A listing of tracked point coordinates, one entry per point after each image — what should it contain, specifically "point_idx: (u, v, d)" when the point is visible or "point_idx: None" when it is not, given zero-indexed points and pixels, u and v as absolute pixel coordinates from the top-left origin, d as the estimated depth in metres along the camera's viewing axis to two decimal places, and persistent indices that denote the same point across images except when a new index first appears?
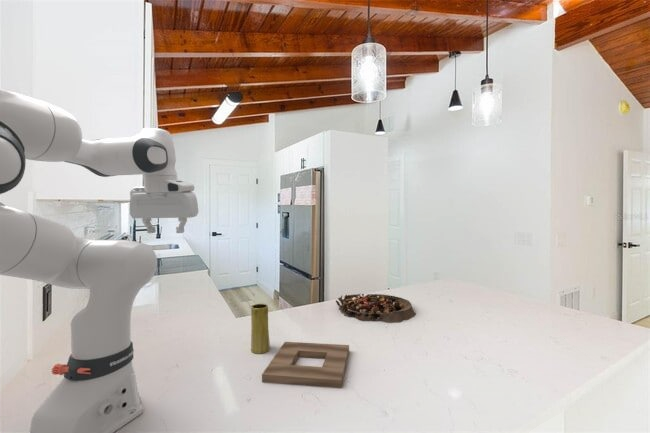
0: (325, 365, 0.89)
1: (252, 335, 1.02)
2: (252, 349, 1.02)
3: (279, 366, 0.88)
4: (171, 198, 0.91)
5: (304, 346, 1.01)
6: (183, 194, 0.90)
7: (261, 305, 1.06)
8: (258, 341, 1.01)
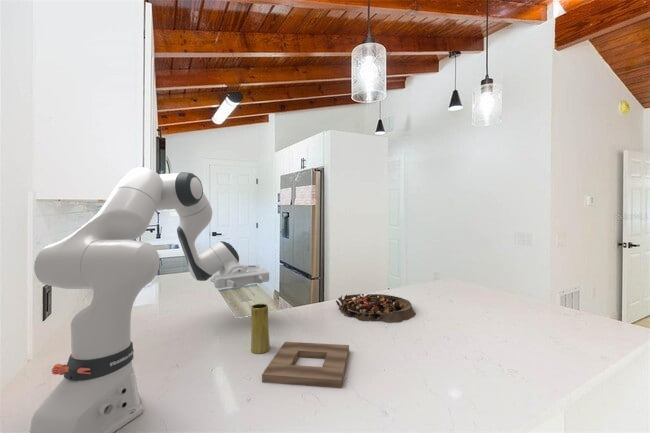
0: (325, 365, 0.89)
1: (252, 335, 1.02)
2: (252, 349, 1.02)
3: (279, 366, 0.88)
4: (250, 271, 1.25)
5: (304, 346, 1.01)
6: (259, 268, 1.28)
7: (261, 305, 1.06)
8: (258, 341, 1.01)
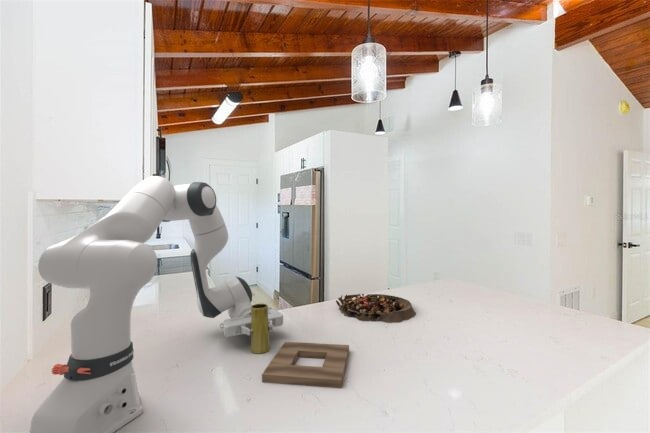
0: (325, 365, 0.89)
1: (252, 335, 1.02)
2: (252, 349, 1.02)
3: (279, 366, 0.88)
4: None
5: (304, 346, 1.01)
6: (272, 309, 1.17)
7: (261, 305, 1.06)
8: (258, 341, 1.01)
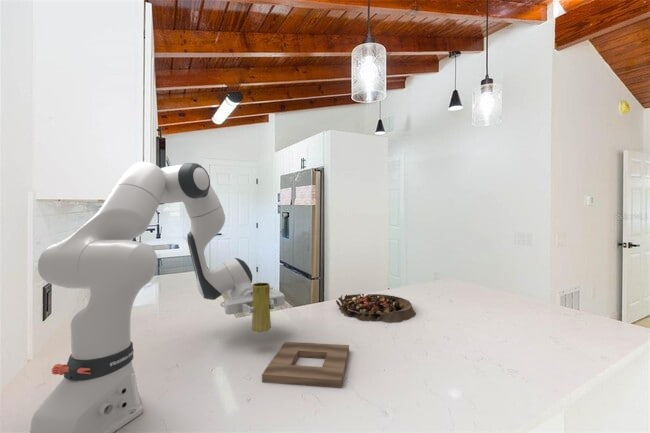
0: (325, 365, 0.89)
1: (253, 313, 1.02)
2: (253, 327, 1.01)
3: (279, 366, 0.88)
4: None
5: (304, 346, 1.01)
6: (273, 289, 1.16)
7: (263, 284, 1.05)
8: (259, 319, 1.00)
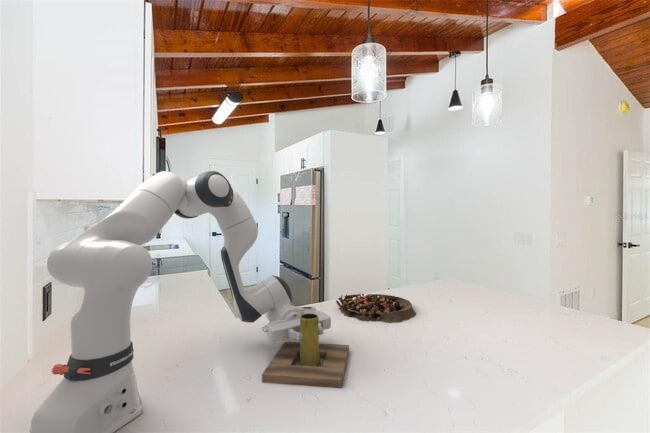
0: (325, 365, 0.89)
1: (301, 348, 0.92)
2: (301, 364, 0.92)
3: (279, 366, 0.88)
4: None
5: None
6: (317, 310, 1.06)
7: (310, 315, 0.95)
8: (308, 355, 0.91)
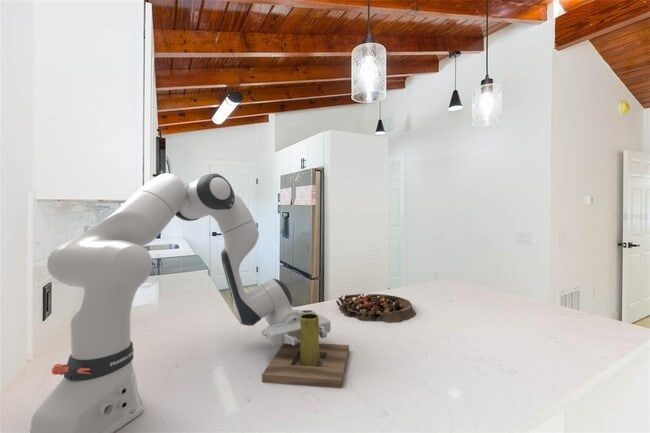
0: (325, 365, 0.89)
1: (301, 349, 0.92)
2: (302, 364, 0.91)
3: (279, 366, 0.88)
4: None
5: None
6: None
7: (310, 315, 0.95)
8: (309, 356, 0.90)
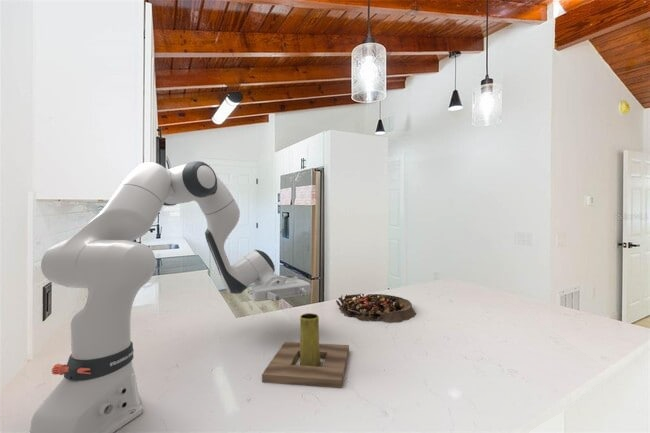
0: (325, 365, 0.89)
1: (301, 349, 0.92)
2: (302, 364, 0.91)
3: (279, 366, 0.88)
4: (289, 282, 1.13)
5: None
6: (299, 279, 1.17)
7: (310, 315, 0.95)
8: (309, 356, 0.90)
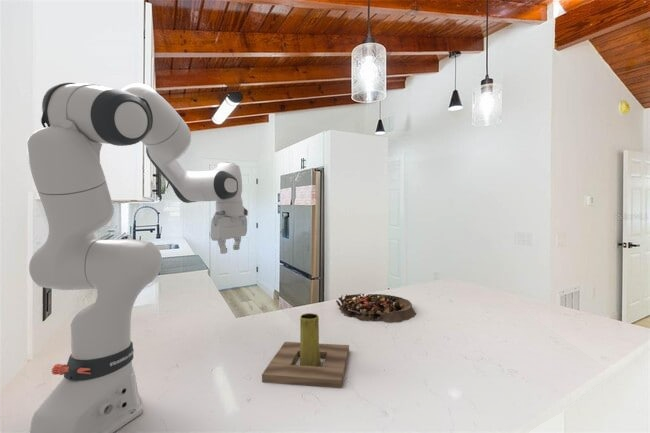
0: (325, 365, 0.89)
1: (301, 349, 0.92)
2: (302, 364, 0.91)
3: (279, 366, 0.88)
4: (239, 221, 1.14)
5: None
6: (246, 217, 1.18)
7: (310, 315, 0.95)
8: (309, 356, 0.90)
